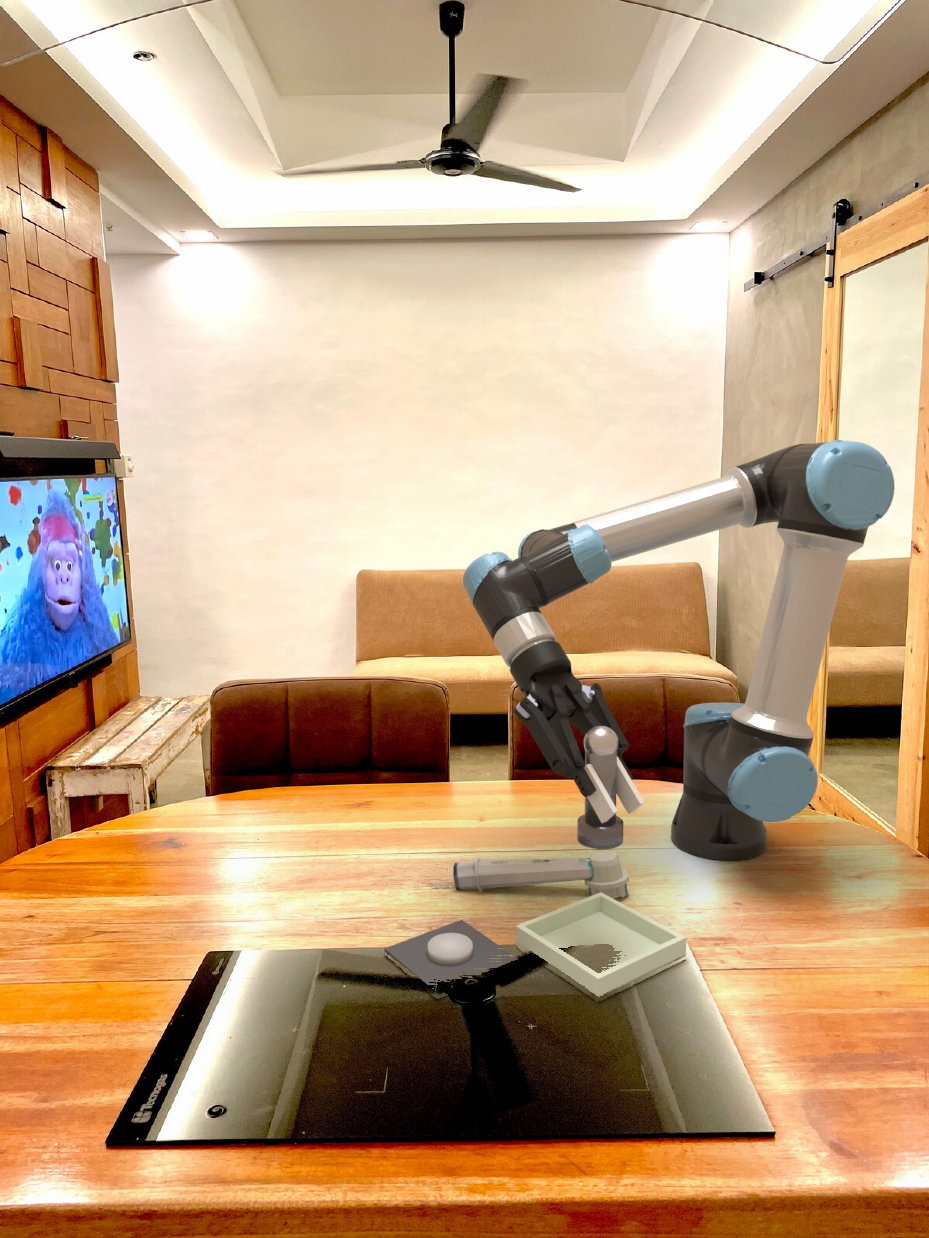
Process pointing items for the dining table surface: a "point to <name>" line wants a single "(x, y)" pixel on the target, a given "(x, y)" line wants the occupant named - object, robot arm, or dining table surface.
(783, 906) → the dining table surface
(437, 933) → the stud plate
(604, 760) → the domed glass cylinder
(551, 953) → the tray
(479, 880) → the grey long rounded piece
